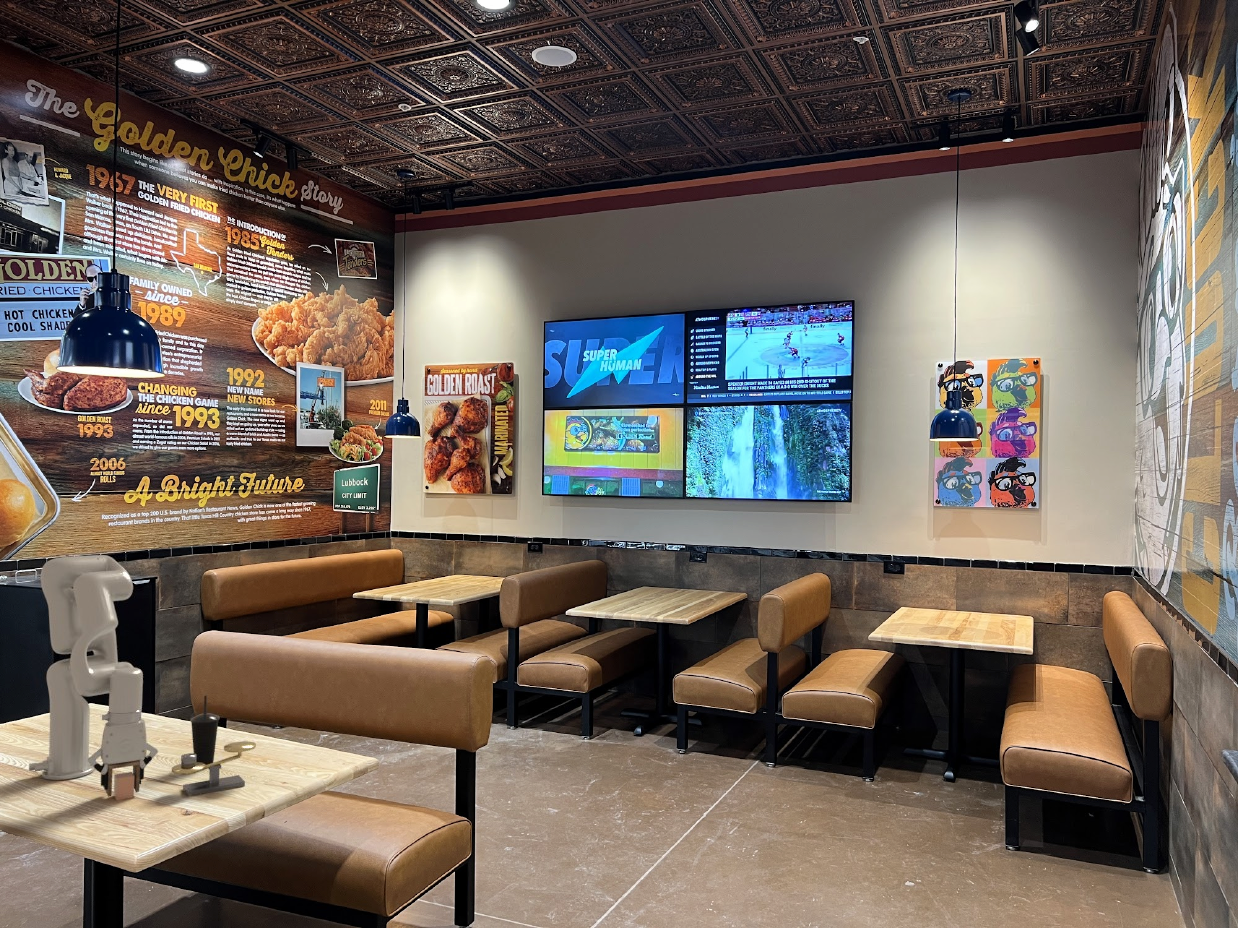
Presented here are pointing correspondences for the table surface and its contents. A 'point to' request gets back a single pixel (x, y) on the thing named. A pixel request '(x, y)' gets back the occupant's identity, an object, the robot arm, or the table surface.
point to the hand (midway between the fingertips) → (122, 784)
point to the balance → (212, 770)
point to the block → (123, 785)
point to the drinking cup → (204, 735)
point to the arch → (135, 766)
